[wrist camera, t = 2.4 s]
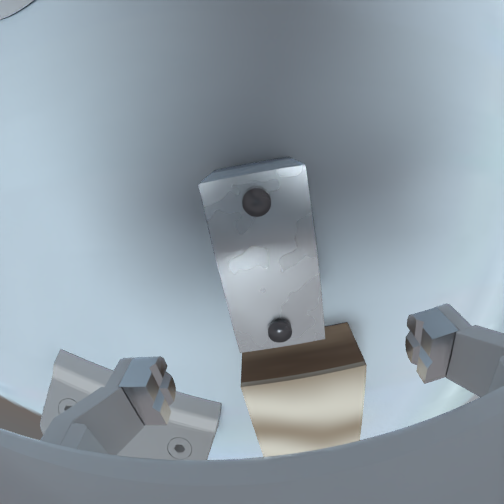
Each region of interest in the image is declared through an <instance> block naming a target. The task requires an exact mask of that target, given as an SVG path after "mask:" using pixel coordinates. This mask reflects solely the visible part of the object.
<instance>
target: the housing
mask: <svg viewBox="0 0 504 504" xmlns="http://www.w3.org/2000/svg"><path fill="white" fill-rule="evenodd" d="M198 185H199V190H200V194H201V199H202V203H203V207H204V212H205V216H206V220H207V225H208V229H209V233H210V237H211V242H212V246H213V250H214V254H215V258H216V262H217V266H218V270H219V274H220V278H221V282H222V286H223V290H224V294H225V298H226V302H227V306H228V310H229V314H230V317H231V321H232V325H233V329H234V332H235V336H236V340H237V344H238V347H239V351H240V353H243V352H250V351H257V350H264V349H271V348H277V347H283V346H289V345H295V344H301V343H306V342H312V341H317V340H322V339H325V329H324V316H323V305H322V293H321V283H320V273H319V264H318V255H317V246H316V238H315V229H314V222H313V214H312V207H311V199H310V192H309V186H308V179H307V172H306V166H305V164H303V163H301V162H299V161H297V160H295V159H293V158H291V157H285V158H279V159H273V160H267V161H261V162H255V163H250V164H244V165H239V166H234V167H229V168H224V169H219V170H214V171H213V172H212V173H211V174H210V175H209V176H207V177H206V178H205V179H204V180H203V181H201V182H200V183H199V184H198Z"/></svg>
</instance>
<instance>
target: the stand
mask: <svg viewBox="0 0 504 504" xmlns="http://www.w3.org/2000/svg"><path fill="white" fill-rule="evenodd" d="M324 329H325V339H322V340H317V341H312V342H306V343H301V344H295V345H289V346H283V347H277V348H271V349H264V350H257V351H250V352H243V353H242V371H241V389H242V392H243V396H244V399H245V402H246V405H247V408H248V411H249V414H250V418H251V421H252V424H253V427H254V430H255V433H256V436H257V439H258V442H259V445H260V447H261V450H262V453H263V456H264V457H268V456H277V455H285V454H292V453H299V452H305V451H311V450H317V449H323V448H328V447H333V446H338V445H342V444H347V443H351V442H355V441H359V440H360V433H361V424H362V415H363V405H364V394H365V380H366V363H365V360H364V358H363V356H362V354H361V351H360V349H359V347H358V345H357V342H356V340H355V338H354V336H353V334H352V331H351V329H350V327H349V325H348V323H342V324H337V325H332V326H327V327H324Z"/></svg>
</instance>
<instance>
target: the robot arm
mask: <svg viewBox="0 0 504 504" xmlns="http://www.w3.org/2000/svg"><path fill="white" fill-rule="evenodd" d="M32 1H33V0H0V19H3V18H6V17H8V16H10V15H12V14H14V13H16V12H17V11H19V10H21V9H22V8H24V7H25V6H27V5H28V4H29V3H31V2H32ZM407 327H408V328H409V329H410V332H409V333H408V335H407V336H406V344H405V345H406V352H407V355H408V358H409V360H410V361H411V363H413V364H415V365H417V373H418V374H419V376H420V378H421V379H422V381H423V382H424V384H425V383H428V382H432V381H435V380H438V379H441V378H444V377H446V378H447V379H449V380H451V381H453V382H454V383H456V384H458V385H460V386H461V387H463V388H465V389H467V390H469V391H470V392H472V393H474V394H476V395H477V396H479V397H480V398H478V399H476V400H474V401H472V402H469V403H467V404H465V405H463V406H460V407H458V408H456V409H453V410H451V411H449V412H446V413H444V414H441V415H439V416H436V417H433V418H431V419H428V420H425V421H423V422H420V423H417V424H414V425H411V426H408V427H405V428H402V429H399V430H395V431H392V432H389V433H385V434H382V435H378V436H375V437H371V438H367V439H363V440H359V441H355V442H351V443H347V444H342V445H338V446H333V447H328V448H323V449H317V450H311V451H305V452H299V453H292V454H285V455H277V456H268V457H258V458H245V459H228V460H167V459H150V458H138V457H128V456H119V455H117V454H118V453H119V452H120V451H121V450H122V449H123V448H124V447H125V446H126V445H127V444H128V443H129V442H130V441H131V440H132V439H133V438H134V437H135V436H136V435H137V434H138V433H139V432H140V431H141V430H142V429H143V428H144V427H145V426H144V425H167V424H168V421H169V417H170V414H171V409H170V408H169V406H170V405H171V404H172V403H173V402H174V400H175V396H176V387H175V383H174V380H173V378H172V376H171V375H170V374H169V373H167V372H166V368H167V364H166V362H165V360H164V358H162V357H161V356H159V357H135V358H122V359H120V361H119V362H118V364H117V366H116V368H115V369H114V371H113V373H112V375H111V376H110V378H109V380H108V382H107V384H106V385H105V387H100V388H99V389H97V390H96V391H94V392H93V393H91V394H90V395H88V396H87V397H85V398H84V399H82V400H81V401H79V402H78V403H76V404H75V405H73V406H72V407H70V408H69V409H67V410H66V411H64V412H62V413H61V414H59V415H58V416H56V417H55V418H53V420H52V421H51V423H50V425H49V426H48V428H47V430H46V431H45V433H44V435H43V436H42V438H41V440H36V439H33V438H29V437H26V436H23V435H19V434H16V433H13V432H10V431H7V430H3V429H1V428H0V504H504V333H501V332H497V331H494V330H491V329H487V328H484V327H480V326H477V325H474V326H471V325H470V324H469V323H468V322H467V321H466V320H465V319H464V318H463V317H462V316H461V315H460V314H459V313H458V312H457V311H456V310H455V309H454V308H453V307H452V306H451V305H450V304H447V303H446V304H443V305H440V306H437V307H434V308H432V309H429V310H425V311H422V312H418V313H415V314H411V315H409V317H408V319H407Z"/></svg>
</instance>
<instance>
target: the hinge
mask: <svg viewBox="0 0 504 504" xmlns="http://www.w3.org/2000/svg"><path fill="white" fill-rule="evenodd" d="M112 373H113V370H110V369H107V368H105V367H102V366H100V365H97V364H95V363H92V362H90V361H87V360H85V359H82V358H80V357H78V356H75V355H73V354H71V353H69V352H66V351H64V350H62V349H61V350H60V352H59V354H58V356H57V358H56V360H55V362H54V367H53V375H52V380H51V383H50V387H49V390H48V394H47V398H46V401H45V405H44V409H43V413H42V418H41V422H40V428H41V430H42V433H43V434H44V433H45V431H46V430H47V428H48V426H49V425H50V423H51V421H52V420H53V418H55V417H56V416H58V415H59V414H61V413H62V412H64V411H66V410H67V409H69V408H70V407H72V406H73V405H75V404H76V403H78V402H79V401H81V400H82V399H84V398H85V397H87V396H88V395H90V394H91V393H93V392H94V391H96V390H97V389H99V388H100V387H105V385H106V384H107V382H108V380H109V378H110V376H111V375H112ZM169 408H170V409H171V414H170V417H169V421H168V424H167V425H144V426H145V427H144V428H143V429H142V430H141V431H140V432H139V433H138V434H137V435H136V436H135V437H134V438H133V439H132V440H131V441H130V442H129V443H128V444H127V445H126V446H125V447H124V448H123V449H122V450H121V451H120V452H119V453H118V454H117V455H119V456H128V457H138V458H150V459H167V460H207V458H208V455H209V452H210V449H211V446H212V443H213V440H214V437H215V434H216V431H217V428H218V424H219V416H220V410H221V403H218V402H214V401H210V400H206V399H202V398H198V397H194V396H191V395H187V394H183V393H180V392H176V396H175V400H174V402H173V403H172V404H171V405H170V406H169Z"/></svg>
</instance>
